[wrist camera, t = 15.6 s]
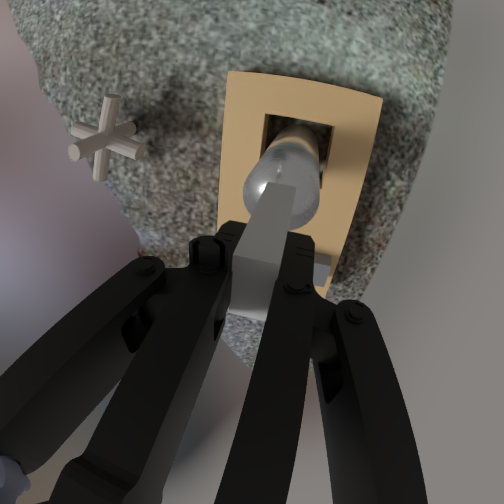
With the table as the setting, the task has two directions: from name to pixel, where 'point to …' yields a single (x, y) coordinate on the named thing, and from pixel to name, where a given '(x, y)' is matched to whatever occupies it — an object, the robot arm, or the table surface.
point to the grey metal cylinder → (288, 173)
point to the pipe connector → (105, 139)
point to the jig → (337, 159)
